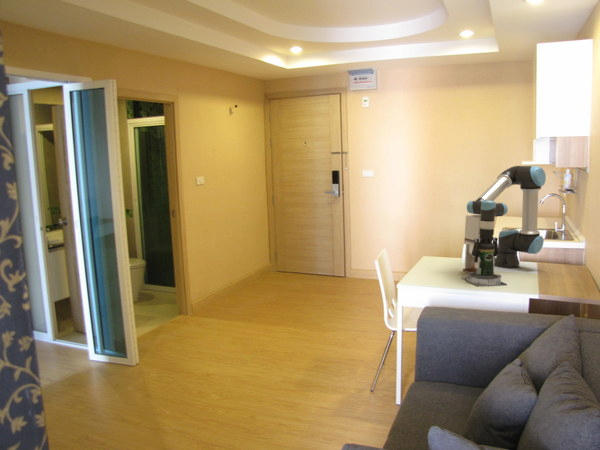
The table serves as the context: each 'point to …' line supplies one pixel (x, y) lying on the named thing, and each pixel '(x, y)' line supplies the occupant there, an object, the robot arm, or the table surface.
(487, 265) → the coffee jar
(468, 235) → the toilet paper holder
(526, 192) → the robot arm
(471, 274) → the duct collar
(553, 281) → the table surface
